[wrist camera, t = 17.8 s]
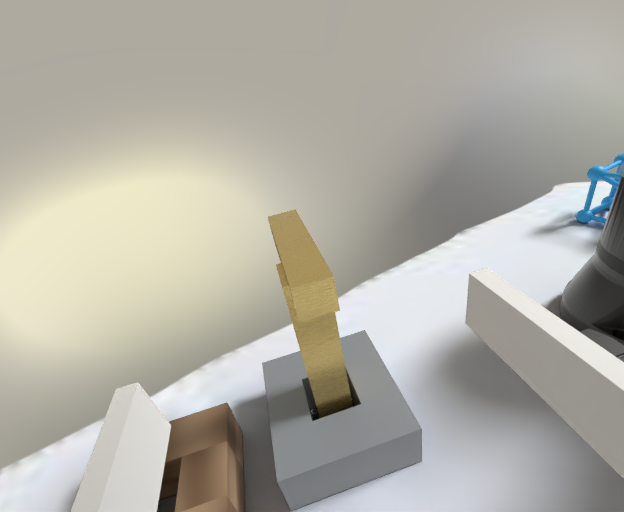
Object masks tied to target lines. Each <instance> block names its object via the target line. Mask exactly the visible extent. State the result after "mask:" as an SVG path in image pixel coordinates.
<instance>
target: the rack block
mask: <svg viewBox="0 0 624 512" xmlns="http://www.w3.org/2000/svg"><path fill="white" fill-rule="evenodd" d="M340 342H341V347H342V352H343V358H344V363H345V368H346V373H347V379H348V384H349V389H350V394H351V398H352V400H353V403H354V405H355V406H354V407H351V408H349V409H346V410H343V411H340V412H337V413H334V414H331V415H329V416H326V417H323V418H320V419H317V420H313V416H312V412H311V409H313V408H316V407H317V406H316V403H315V399H314V396H313V392H312V389H311V385H310V382H309V378H308V375H307V371H306V368H305V364H304V361H303V357H302V354H301V351H298V352H295V353H292V354H289V355H286V356H283V357H280V358H277V359H274V360H270V361H267V362H264V363H262V365H263V373H264V381H265V389H266V397H267V405H268V413H269V421H270V429H271V438H272V446H273V454H274V462H275V470H276V478H277V483H278V485H279V487H280V489H281V491H282V493H283V495H284V497H285V499H286V501H287V503H288V505H289V507H290V509H291V511H292V510H295V509H298V508H300V507H303V506H305V505H308V504H311V503H313V502H316V501H319V500H321V499H324V498H326V497H329V496H332V495H334V494H337V493H340V492H342V491H345V490H347V489H350V488H353V487H355V486H358V485H361V484H363V483H366V482H368V481H371V480H374V479H376V478H379V477H381V476H384V475H387V474H389V473H392V472H395V471H397V470H400V469H402V468H405V467H408V466H410V465H413V464H416V463H418V462H421V461H422V429H421V427H420V425H419V424H418V422H417V420H416V418H415V417H414V415H413V413H412V411H411V410H410V408H409V406H408V404H407V403H406V401H405V399H404V397H403V396H402V394H401V392H400V391H399V389H398V387H397V385H396V384H395V382H394V380H393V378H392V377H391V375H390V373H389V371H388V370H387V368H386V366H385V364H384V363H383V361H382V359H381V358H380V356H379V354H378V352H377V351H376V349H375V347H374V345H373V344H372V342H371V340H370V338H369V337H368V335H367V333H366V331H365V330H364V331H361V332H358V333H355V334H351V335H348V336H345V337H342V338H340Z"/></svg>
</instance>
